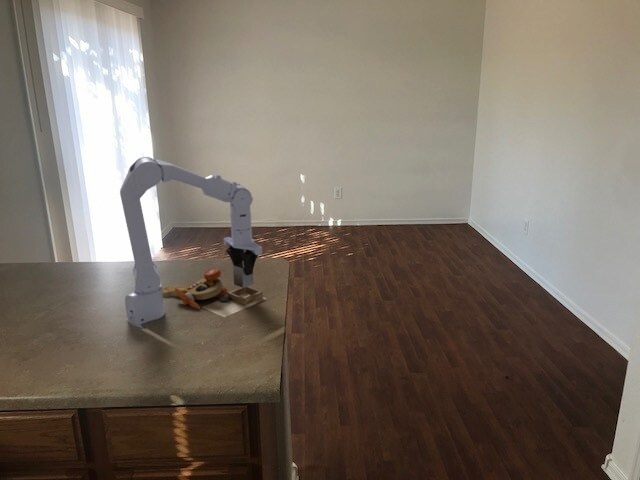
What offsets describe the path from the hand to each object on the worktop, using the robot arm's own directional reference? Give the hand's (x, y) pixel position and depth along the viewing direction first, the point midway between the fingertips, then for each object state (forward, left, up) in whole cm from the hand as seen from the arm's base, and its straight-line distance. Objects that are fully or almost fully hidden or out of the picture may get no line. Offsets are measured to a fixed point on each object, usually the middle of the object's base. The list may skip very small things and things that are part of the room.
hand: (243, 272), depth 148 cm
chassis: (-4, 0, -9) cm, 10 cm away
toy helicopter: (-4, +16, -5) cm, 17 cm away
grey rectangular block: (0, 0, -4) cm, 4 cm away
